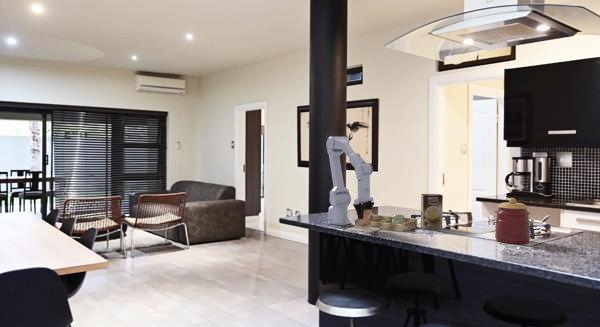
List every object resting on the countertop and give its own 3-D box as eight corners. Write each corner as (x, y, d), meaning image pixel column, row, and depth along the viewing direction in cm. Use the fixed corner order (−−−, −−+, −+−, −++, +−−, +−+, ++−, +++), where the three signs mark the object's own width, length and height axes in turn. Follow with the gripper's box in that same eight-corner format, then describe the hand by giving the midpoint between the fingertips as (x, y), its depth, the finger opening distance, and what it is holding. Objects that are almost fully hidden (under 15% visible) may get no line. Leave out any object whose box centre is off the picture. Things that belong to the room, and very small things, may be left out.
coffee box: (422, 229, 216) (422, 195, 216) (420, 227, 223) (420, 193, 222) (442, 229, 215) (442, 195, 215) (440, 227, 222) (440, 193, 221)
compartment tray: (355, 226, 226) (354, 218, 226) (370, 222, 238) (370, 214, 238) (403, 231, 210) (403, 223, 210) (417, 227, 222) (417, 218, 222)
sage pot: (389, 228, 219) (389, 215, 219) (394, 226, 224) (394, 214, 224) (400, 229, 216) (400, 216, 215) (406, 228, 220) (406, 215, 220)
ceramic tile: (347, 229, 216) (347, 228, 216) (357, 227, 224) (357, 225, 224) (370, 232, 209) (370, 231, 209) (380, 229, 216) (380, 228, 216)
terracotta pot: (356, 223, 216) (355, 210, 215) (362, 220, 221) (361, 207, 220) (367, 224, 212) (366, 211, 212) (373, 221, 217) (372, 208, 216)
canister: (515, 245, 179) (515, 200, 178) (488, 240, 191) (488, 197, 190) (537, 242, 185) (537, 198, 184) (509, 236, 197) (509, 195, 196)
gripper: (363, 190, 208) (363, 220, 208) (378, 188, 219) (379, 216, 219) (350, 190, 212) (350, 219, 212) (365, 187, 223) (365, 215, 224)
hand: (363, 218), depth 216 cm, fingers closed on terracotta pot, 6 cm apart
